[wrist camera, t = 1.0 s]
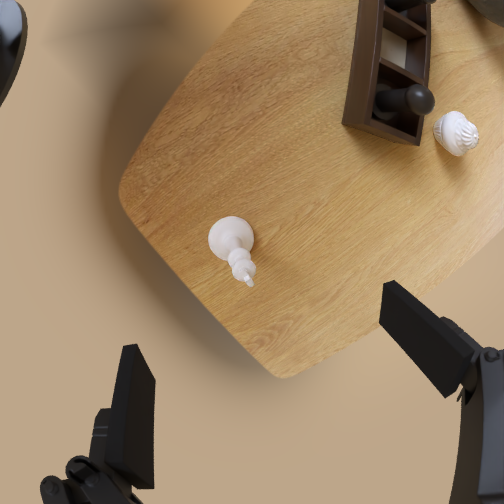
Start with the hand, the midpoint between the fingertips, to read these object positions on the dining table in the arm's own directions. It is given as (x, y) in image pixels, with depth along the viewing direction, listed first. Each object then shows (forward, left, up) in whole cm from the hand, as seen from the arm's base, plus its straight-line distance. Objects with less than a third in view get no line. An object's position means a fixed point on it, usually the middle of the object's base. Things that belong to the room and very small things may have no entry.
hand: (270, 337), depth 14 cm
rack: (+15, +25, -19) cm, 34 cm away
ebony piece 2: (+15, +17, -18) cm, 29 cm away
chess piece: (+1, -1, -19) cm, 19 cm away
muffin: (+27, +18, -19) cm, 37 cm away
